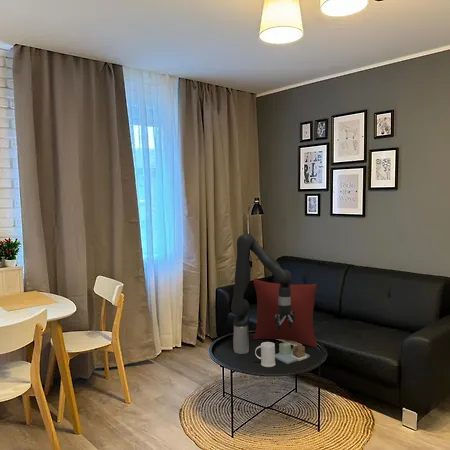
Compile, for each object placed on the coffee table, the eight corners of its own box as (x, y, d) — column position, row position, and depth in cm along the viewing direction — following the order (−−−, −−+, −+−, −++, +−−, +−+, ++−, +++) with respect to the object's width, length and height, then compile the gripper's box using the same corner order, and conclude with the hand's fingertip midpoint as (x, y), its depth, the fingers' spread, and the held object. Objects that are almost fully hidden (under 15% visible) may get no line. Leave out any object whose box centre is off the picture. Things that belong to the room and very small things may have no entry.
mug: (253, 365, 254) (253, 345, 253) (257, 360, 262) (256, 340, 261) (274, 367, 250) (273, 347, 249) (276, 361, 258) (276, 342, 257)
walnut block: (293, 355, 265) (292, 346, 264) (299, 353, 267) (299, 344, 267) (298, 358, 260) (298, 348, 260) (304, 356, 263) (304, 346, 263)
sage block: (279, 353, 269) (279, 343, 269) (285, 351, 272) (285, 341, 271) (284, 355, 265) (284, 346, 264) (290, 353, 268) (290, 344, 267)
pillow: (320, 343, 287) (320, 281, 283) (314, 351, 274) (314, 286, 270) (258, 334, 305) (257, 276, 302) (250, 342, 292) (249, 281, 288)
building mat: (271, 356, 267) (271, 354, 266) (293, 349, 276) (293, 348, 276) (287, 364, 255) (287, 362, 254) (310, 357, 264) (310, 355, 264)
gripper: (289, 300, 269) (289, 325, 271) (271, 303, 262) (271, 330, 263) (297, 302, 263) (297, 329, 264) (279, 306, 255) (279, 333, 257)
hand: (284, 329), depth 264 cm, fingers open, 8 cm apart
